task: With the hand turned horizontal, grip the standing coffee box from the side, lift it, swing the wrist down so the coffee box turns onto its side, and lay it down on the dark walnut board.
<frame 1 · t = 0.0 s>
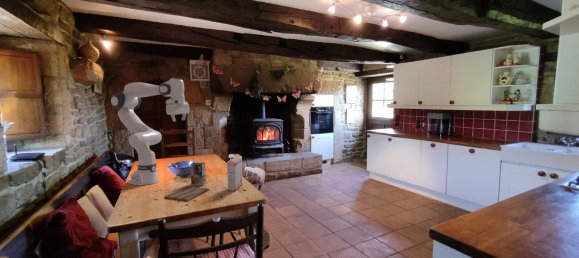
hand: (178, 120, 195), 48 cm above the table, tool pointing down, fingers open, 8 cm apart
coffee box: (198, 184, 204), on the table
walnut board: (187, 194, 183), on the table
cracker box: (235, 188, 196), on the table
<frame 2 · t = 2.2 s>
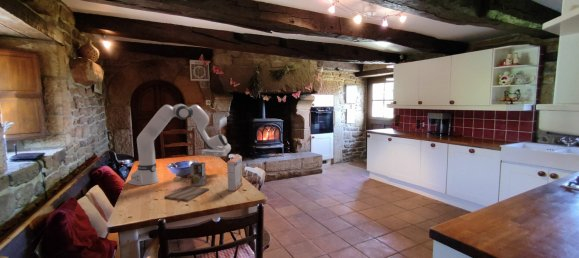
hand: (208, 154, 214), 20 cm above the table, tool horizontal, fingers open, 8 cm apart
nothing on the table moved.
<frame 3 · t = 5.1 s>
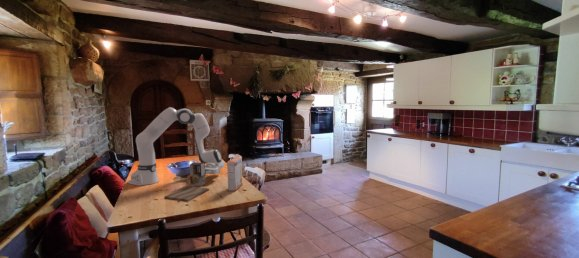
hand: (199, 172, 205), 8 cm above the table, tool horizontal, fingers open, 8 cm apart
coffee box: (198, 184, 203), on the table, touching gripper
everything else where it was.
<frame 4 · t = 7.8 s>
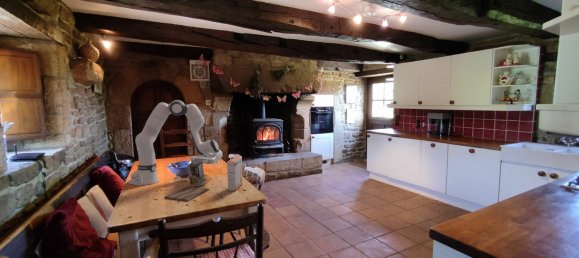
hand: (197, 161, 202), 17 cm above the table, tool horizontal, fingers open, 8 cm apart
coffee box: (198, 184, 203), on the table, touching gripper
everything else where it was.
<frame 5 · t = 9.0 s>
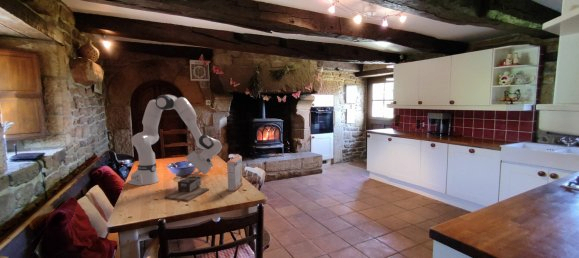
hand: (189, 170, 197), 12 cm above the table, tool tilted 55°, fingers open, 8 cm apart
coffee box: (195, 179, 200), point 4 cm above the table, touching walnut board
everything else where it was.
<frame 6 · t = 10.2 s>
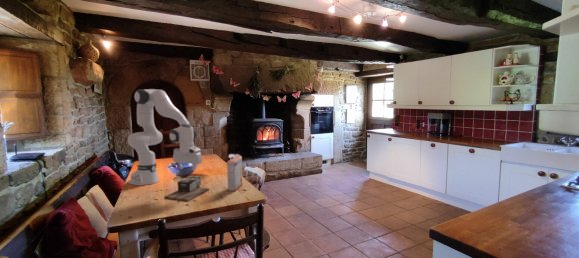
hand: (187, 169, 182), 17 cm above the table, tool pointing down, fingers open, 8 cm apart
nothing on the table moved.
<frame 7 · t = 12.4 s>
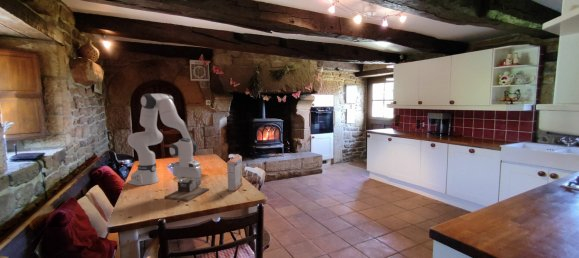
hand: (187, 183, 182), 7 cm above the table, tool pointing down, fingers open, 8 cm apart
coffee box: (195, 179, 200), point 5 cm above the table, touching gripper, walnut board
everything else where it was.
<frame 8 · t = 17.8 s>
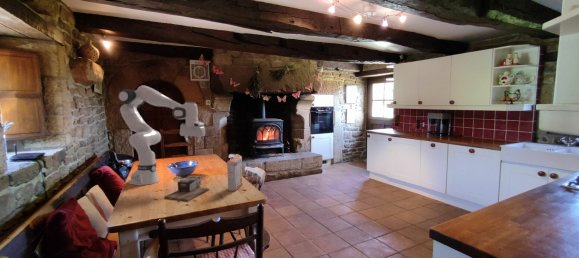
hand: (192, 142, 205), 31 cm above the table, tool pointing down, fingers open, 8 cm apart
coffee box: (195, 179, 200), point 4 cm above the table, touching walnut board
everything else where it was.
at the end: coffee box tilted 90°; coffee box touching walnut board; the gripper is holding nothing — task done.
